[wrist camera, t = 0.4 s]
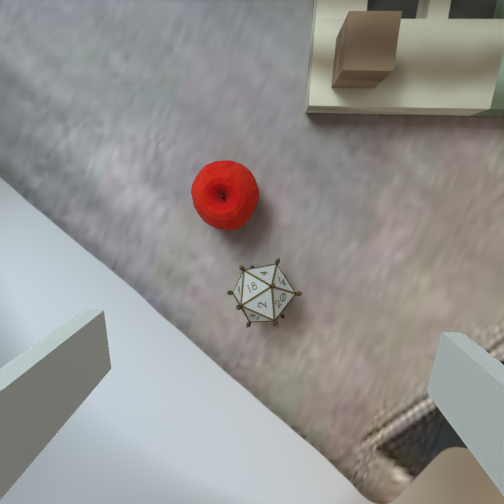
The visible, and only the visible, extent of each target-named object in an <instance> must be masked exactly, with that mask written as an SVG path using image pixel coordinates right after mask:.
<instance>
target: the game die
mask: <svg viewBox="0 0 504 504" xmlns="http://www.w3.org/2000/svg"><path fill="white" fill-rule="evenodd" d="M275 262H276V263H275V264H271V265H266V266H261V267H256V268H254V266H252V265H251V267H250V269H244V267H243V266H241V265H240V269H241V270H242V271H243V272H242V274H241V276H240V278H239V281H238V283H237V285H236V287H235V289H234V291H233V292H232V291H228V292H227V294H229V295H232V294H233V295H234V297H235V299H236V301H237V302H238V304H239V305H238V306H236V309H238V310H239V309H242V311H243V312H244V314H245V316H246V318H247V319H248V321H249V322H248V323H247V324H246V325H247V328H248V327H250V325H251V322H270V321H273V322H274V323H273V324H274V326H276V327H278V322H277V321H276V320H277V319H278V318H279V317H281V318H284V316H285V315H283V314H282V313H283V312H284V310H285V309H286V307H287V306H288V305H289V303H290V302H291V300H292V299H293V298H294V296H295V295H297V296H300V295H302V294H303V293H301V292H300V291H299V292H295V291H294V289H293V288H292V286H291V285H290V283H289V282H288V280H287V279H286V277H285V275H284V274H283V272H282V271H281V269H280V268H279V266H278V264H279V262H280V258H278V259H277V260H276V261H275Z"/></svg>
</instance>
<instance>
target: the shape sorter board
mask: <svg viewBox="0 0 504 504" xmlns="http://www.w3.org/2000/svg"><path fill="white" fill-rule="evenodd" d="M349 11H402V16H401V23H400V29H399V36H398V43H397V50H396V56H395V63H394V70H393V72H392V73H390V74H389V75H388V76H387V77H386V78H385V79H384V80H383V81H382V82H381V83H380V84H378V85H377V86H376V87H375V88H331V86H332V76H333V66H334V55H335V45H336V38H337V36H338V34H339V31H340V29H341V27H342V25H343V23H344V20H345V18H346V16H347V14H348V12H349ZM305 113H345V114H394V115H443V116H492V117H504V0H314V4H313V17H312V30H311V43H310V56H309V69H308V82H307V95H306V108H305Z"/></svg>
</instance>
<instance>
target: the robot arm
mask: <svg viewBox="0 0 504 504" xmlns="http://www.w3.org/2000/svg"><path fill="white" fill-rule="evenodd" d="M110 369H111V364H110V356H109V348H108V340H107V332H106V324H105V316H104V311H103V310H87V309H85V310H84V311H82V312H81V313H79V314H78V315H77V316H75V317H74V318H72V319H71V320H69V321H68V322H67V323H65V324H64V325H62V326H61V327H59V328H58V329H57V330H55V331H54V332H52V333H51V334H49V335H48V336H46V337H45V338H44V339H42V340H41V341H39V342H38V343H37V344H35V345H34V346H32V347H31V348H29V349H28V350H26V351H25V352H24V353H22V354H21V355H19V356H18V357H16V358H15V359H14V360H12V361H11V362H9V363H8V364H6V365H5V366H4V367H2V368H1V369H0V500H1V498H2V497H3V496H4V495H5V494H6V492H7V491H8V490H9V489H10V488H11V487H12V485H13V484H14V483H15V482H16V481H17V480H18V478H19V477H20V476H21V475H22V474H23V472H24V471H25V470H26V469H27V468H28V467H29V465H30V464H31V463H32V462H33V460H34V459H35V458H36V457H37V456H38V455H39V453H40V452H41V451H42V450H43V449H44V447H45V446H46V445H47V444H48V443H49V442H50V440H51V439H52V438H53V437H54V436H55V435H56V433H57V432H58V431H59V430H60V428H61V427H62V426H63V425H64V424H65V422H66V421H67V420H68V419H69V418H70V416H71V415H72V414H73V413H74V412H75V411H76V409H77V408H78V407H79V406H80V405H81V404H82V402H83V401H84V400H85V399H86V398H87V397H88V395H89V394H90V393H91V392H92V391H93V389H94V388H95V387H96V386H97V385H98V383H99V382H100V381H101V380H102V379H103V378H104V376H105V375H106V374H107V373H108V372H109V370H110ZM426 392H427V394H428V395H429V396H430V398H431V399H432V400H433V402H434V403H435V404H436V406H437V407H438V408H439V410H440V411H441V412H442V414H443V415H444V416H445V418H446V419H447V420H448V422H449V423H450V424H451V426H452V427H453V429H454V430H455V431H456V433H457V434H458V435H459V437H460V438H461V439H462V441H463V442H464V443H465V445H466V446H467V447H468V449H469V450H470V451H471V453H472V454H473V455H474V457H475V458H476V459H477V461H478V462H479V464H480V465H481V466H482V468H483V469H484V470H485V472H486V473H487V474H488V476H489V477H490V478H491V480H492V481H493V482H494V484H495V485H496V486H497V487H498V489H499V490H500V492H501V493H502V494H503V496H504V365H503V364H502V363H500V362H499V361H498V360H497V359H495V358H494V357H493V356H492V355H490V354H489V353H488V352H486V351H485V350H484V349H483V348H481V347H480V346H479V345H478V344H476V343H475V342H474V341H472V340H471V339H470V338H469V337H467V336H466V335H465V334H464V333H458V332H442V331H441V335H440V339H439V343H438V347H437V351H436V355H435V359H434V363H433V367H432V371H431V375H430V379H429V383H428V387H427V391H426Z"/></svg>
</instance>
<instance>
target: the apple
mask: <svg viewBox="0 0 504 504" xmlns="http://www.w3.org/2000/svg"><path fill="white" fill-rule="evenodd" d="M191 194H192V198H193V204H194V207H195V209H196V211H197V212H198V214H199V215H200V217H201V218H202V219H203V220H204V221H205V222H206V223H207V224H209V225H210V226H213V227H215V228H218V229H223V230H236V229H238V228H240V227H242V226H243V225H244V224H245V223H246V222H247V221H248V220H249V218H250V217H251V215H252V213H253V211H254V210H255V208H256V205H257V202H258V199H259V189H258V186H257V183H256V181H255V178H254V176H253V175H252V173H251V172H250V171H249V170H248V169H247V168H246V167H245V166H243V165H242V164H239V163H236V162H233V161H228V160H227V161H216V162H213V163H210V164H208V165H206V166H205V167H204V168H203V169H202V170H201V171H200V172H199V174H198V175H197V177H196V178H195V180H194V182H193V184H192V190H191Z"/></svg>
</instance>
